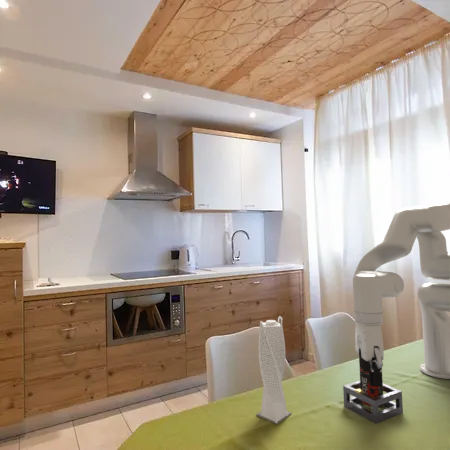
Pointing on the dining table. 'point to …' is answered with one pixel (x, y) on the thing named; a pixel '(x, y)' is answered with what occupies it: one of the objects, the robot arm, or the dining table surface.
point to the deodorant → (365, 380)
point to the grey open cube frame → (373, 402)
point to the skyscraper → (272, 371)
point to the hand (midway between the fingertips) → (371, 380)
